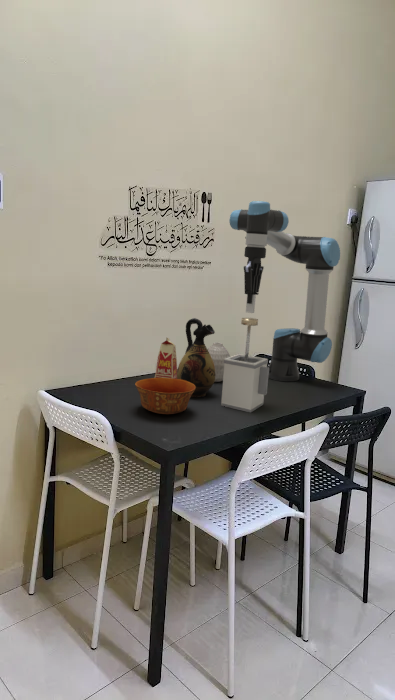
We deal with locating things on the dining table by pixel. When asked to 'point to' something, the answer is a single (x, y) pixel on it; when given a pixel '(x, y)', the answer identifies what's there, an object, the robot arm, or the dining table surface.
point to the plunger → (248, 332)
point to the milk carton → (167, 361)
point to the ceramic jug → (197, 360)
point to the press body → (244, 382)
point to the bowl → (165, 394)
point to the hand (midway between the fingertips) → (249, 312)
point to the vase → (218, 359)
